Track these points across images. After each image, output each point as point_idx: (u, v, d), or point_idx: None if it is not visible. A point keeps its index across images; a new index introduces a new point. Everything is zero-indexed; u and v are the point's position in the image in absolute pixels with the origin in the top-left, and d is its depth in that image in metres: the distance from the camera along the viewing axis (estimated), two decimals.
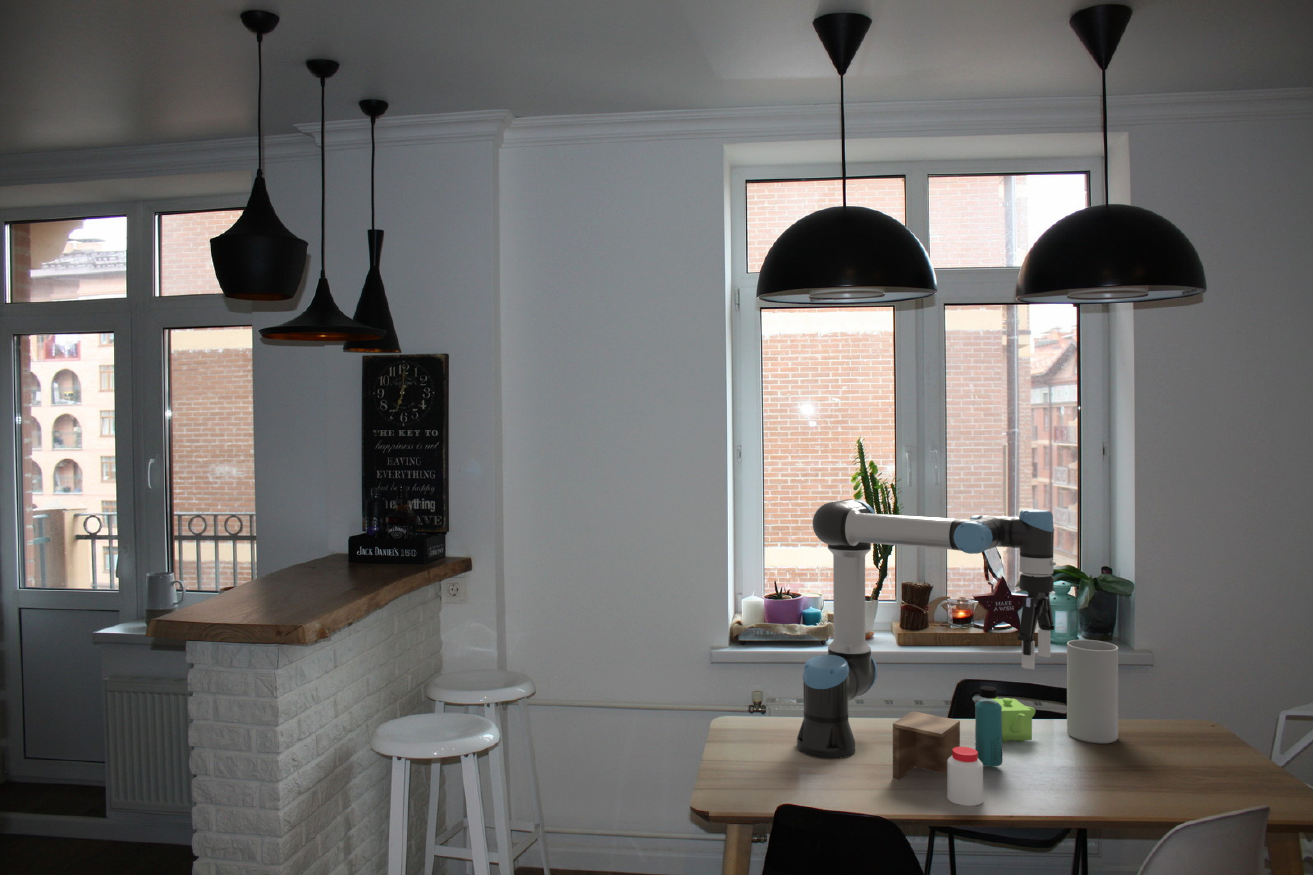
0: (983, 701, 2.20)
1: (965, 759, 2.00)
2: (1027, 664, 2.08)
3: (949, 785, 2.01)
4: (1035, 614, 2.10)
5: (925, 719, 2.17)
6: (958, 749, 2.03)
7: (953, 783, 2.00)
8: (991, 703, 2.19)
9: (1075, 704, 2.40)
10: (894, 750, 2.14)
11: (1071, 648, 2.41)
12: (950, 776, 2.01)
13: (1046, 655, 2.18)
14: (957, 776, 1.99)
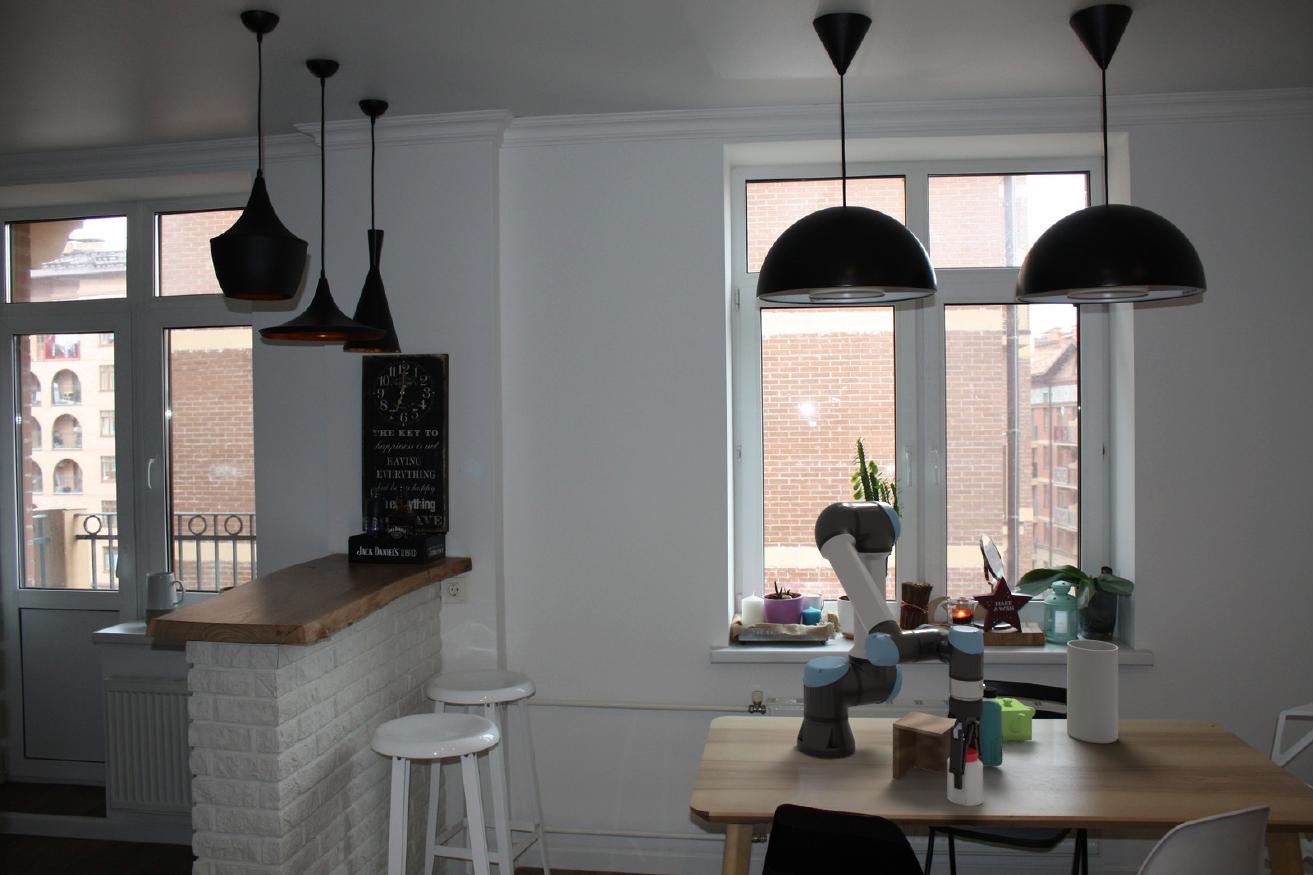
0: None
1: None
2: (958, 798, 1.99)
3: (949, 785, 2.01)
4: (965, 743, 1.99)
5: (925, 719, 2.17)
6: None
7: None
8: (991, 703, 2.19)
9: (1075, 704, 2.40)
10: (894, 750, 2.14)
11: (1071, 648, 2.41)
12: (950, 776, 2.01)
13: None
14: None
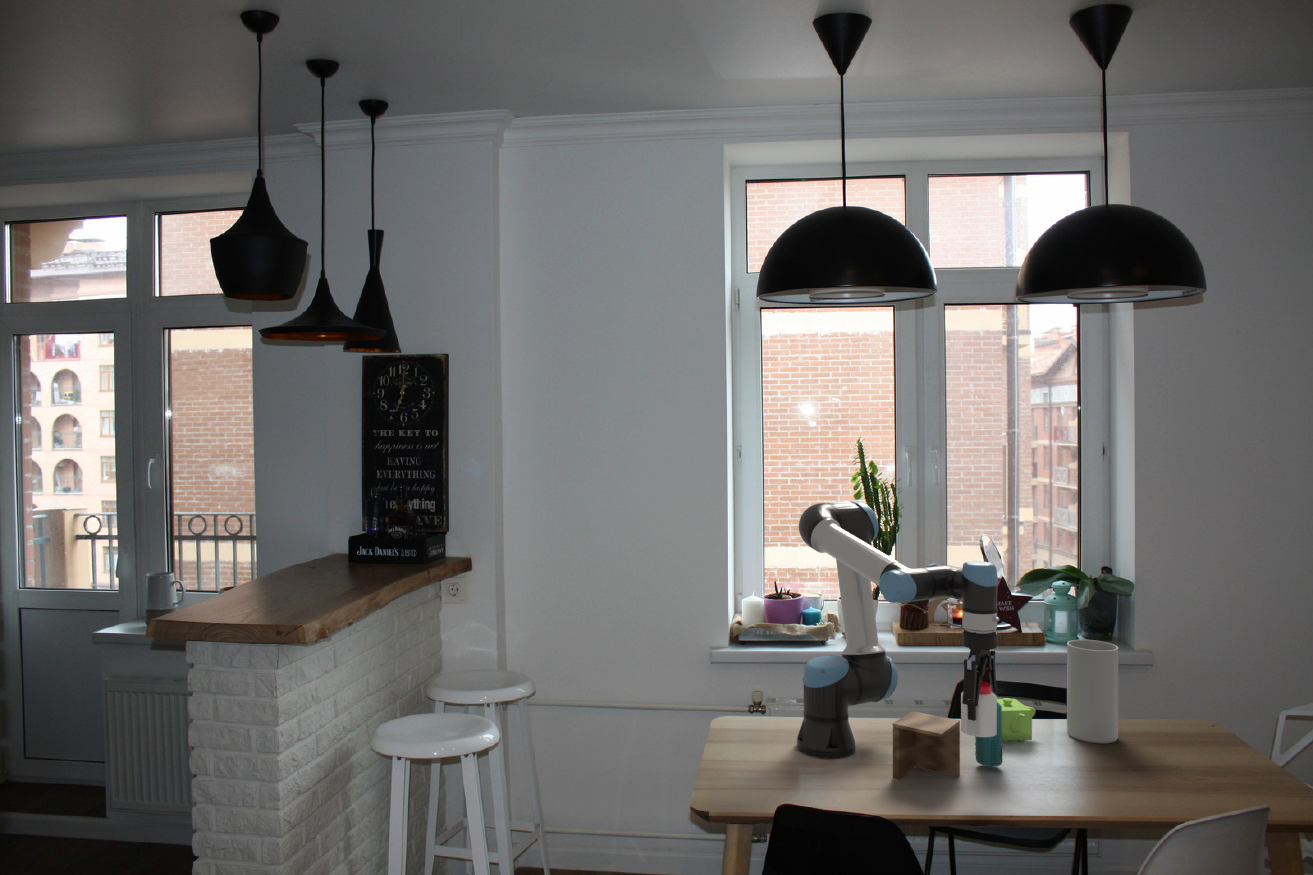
0: None
1: None
2: (972, 729, 2.01)
3: (963, 717, 2.04)
4: (978, 675, 2.01)
5: (925, 719, 2.17)
6: None
7: None
8: None
9: (1075, 704, 2.40)
10: (894, 750, 2.14)
11: (1071, 648, 2.41)
12: (964, 708, 2.03)
13: None
14: None
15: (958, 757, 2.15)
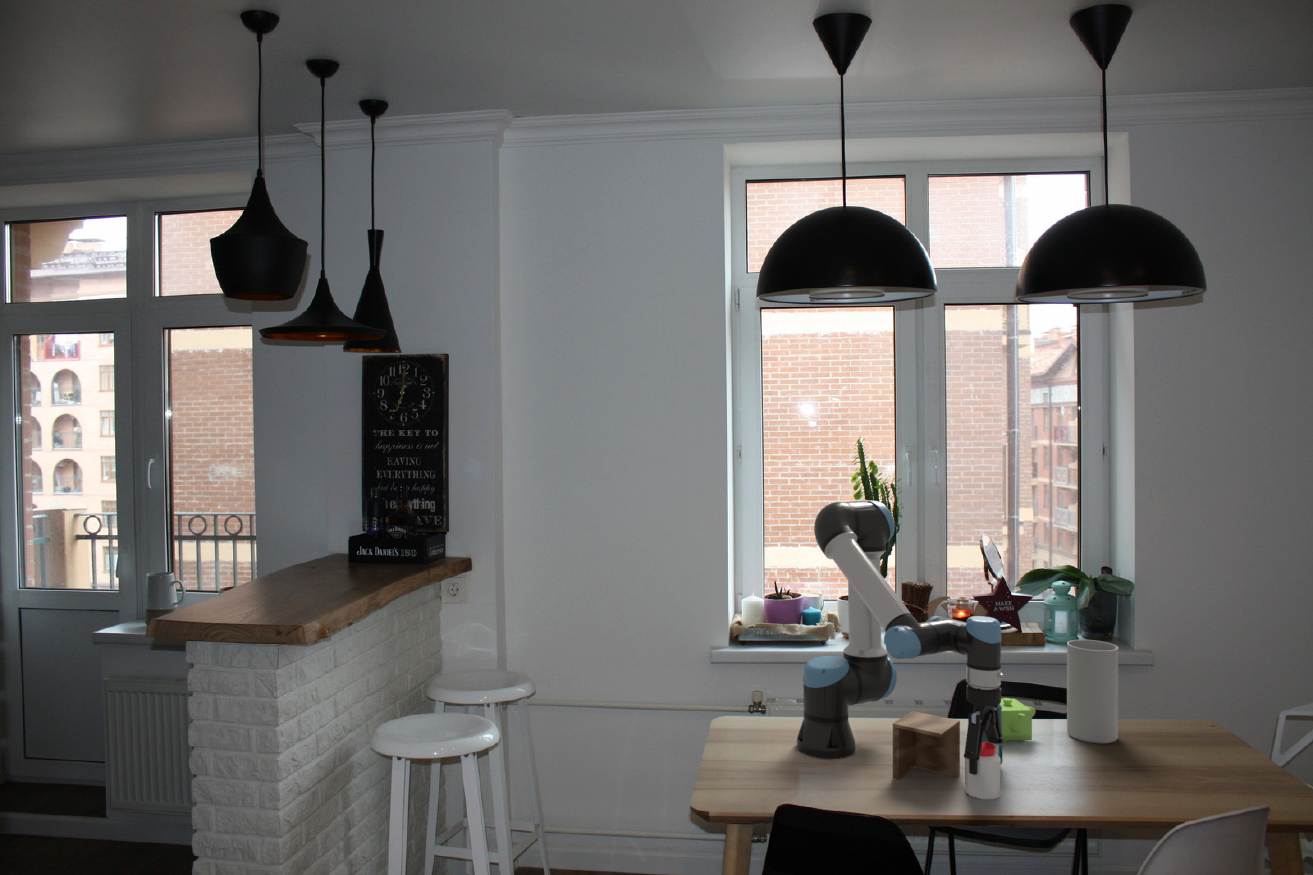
0: None
1: (983, 753, 2.03)
2: (973, 783, 2.00)
3: (967, 779, 2.05)
4: (982, 730, 2.02)
5: (925, 719, 2.17)
6: None
7: None
8: None
9: (1075, 704, 2.40)
10: (894, 750, 2.14)
11: (1071, 648, 2.41)
12: None
13: None
14: None
15: (958, 757, 2.15)
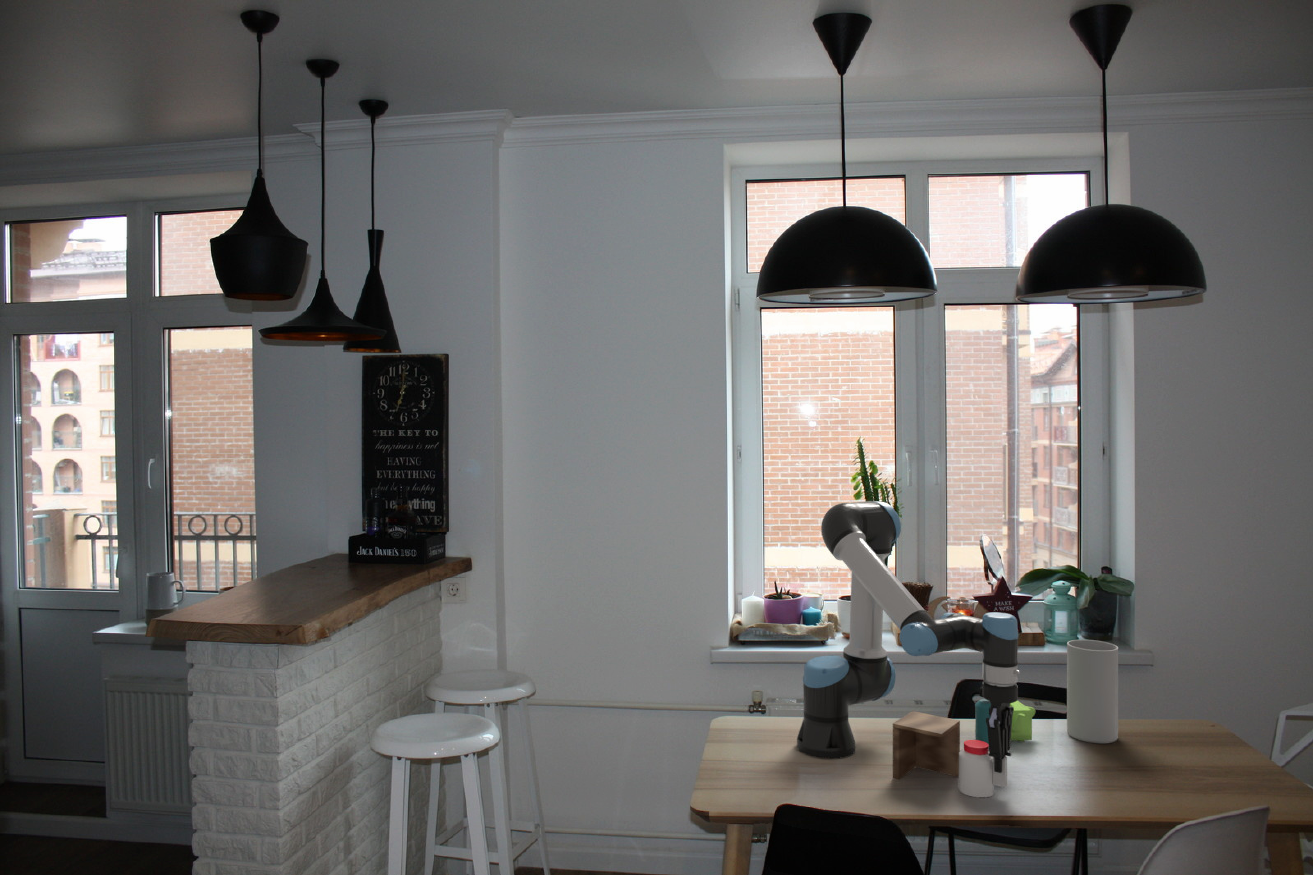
0: (983, 701, 2.20)
1: (976, 752, 2.04)
2: (998, 781, 2.03)
3: (961, 777, 2.06)
4: (1001, 729, 2.01)
5: (925, 719, 2.17)
6: (969, 742, 2.07)
7: (965, 775, 2.04)
8: None
9: (1075, 704, 2.40)
10: (894, 750, 2.14)
11: (1071, 648, 2.41)
12: (962, 768, 2.05)
13: None
14: (969, 768, 2.04)
15: (958, 757, 2.15)
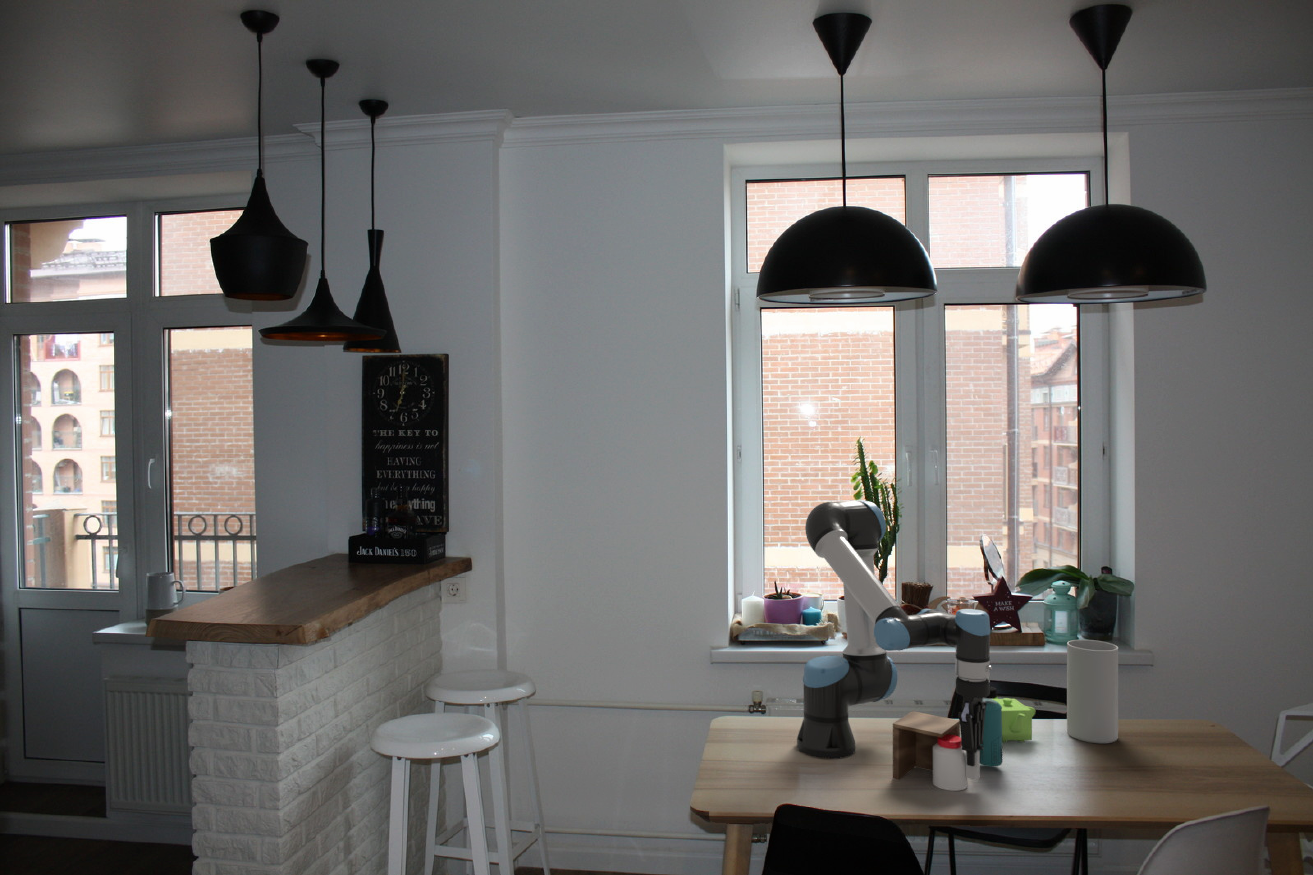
0: None
1: (949, 746, 2.08)
2: (970, 774, 2.07)
3: (934, 771, 2.10)
4: (973, 724, 2.05)
5: (925, 719, 2.17)
6: (943, 736, 2.11)
7: (938, 769, 2.08)
8: (991, 703, 2.19)
9: (1075, 704, 2.40)
10: (894, 750, 2.14)
11: (1071, 648, 2.41)
12: (935, 762, 2.09)
13: None
14: (942, 762, 2.08)
15: None
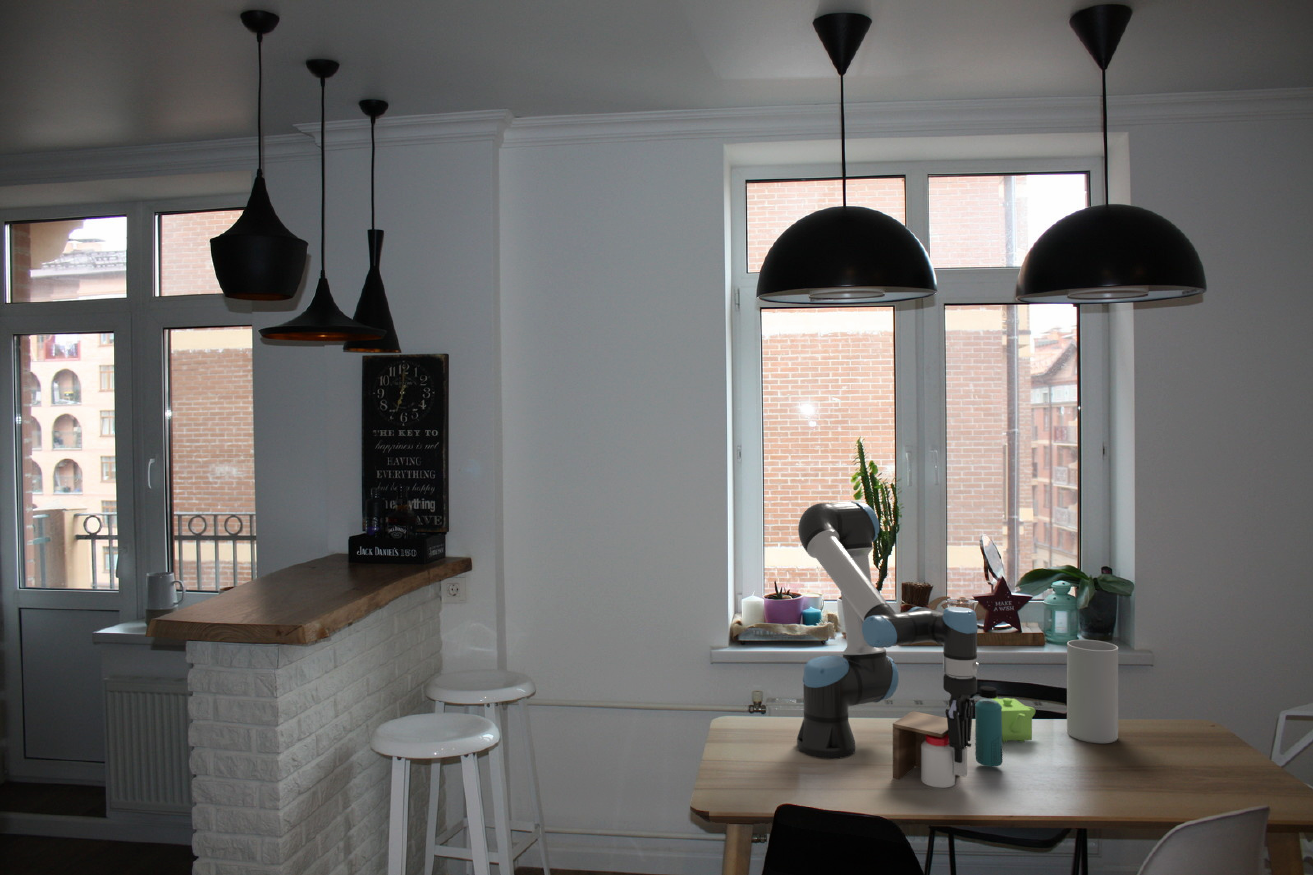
0: (983, 701, 2.20)
1: (937, 743, 2.10)
2: (958, 771, 2.08)
3: (922, 768, 2.12)
4: (961, 721, 2.07)
5: (925, 719, 2.17)
6: None
7: (926, 766, 2.10)
8: (991, 703, 2.19)
9: (1075, 704, 2.40)
10: (894, 750, 2.14)
11: (1071, 648, 2.41)
12: (923, 759, 2.11)
13: None
14: (929, 759, 2.09)
15: None
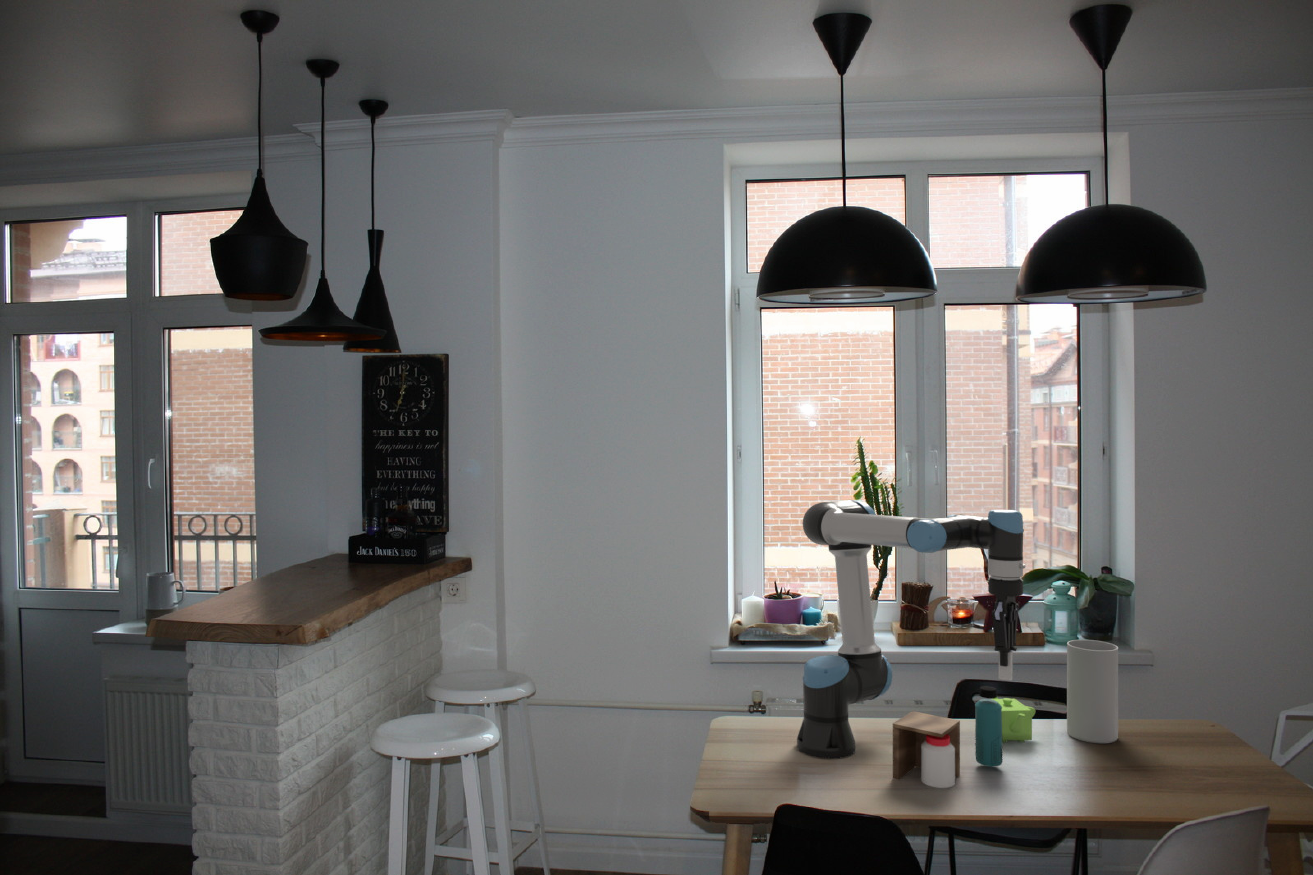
0: (983, 701, 2.20)
1: (937, 743, 2.09)
2: (1003, 675, 2.05)
3: (922, 768, 2.11)
4: (1007, 623, 2.03)
5: (925, 719, 2.17)
6: None
7: (926, 766, 2.10)
8: (991, 703, 2.19)
9: (1075, 704, 2.40)
10: (894, 750, 2.14)
11: (1071, 648, 2.41)
12: (923, 759, 2.11)
13: None
14: (929, 759, 2.09)
15: (958, 757, 2.15)
